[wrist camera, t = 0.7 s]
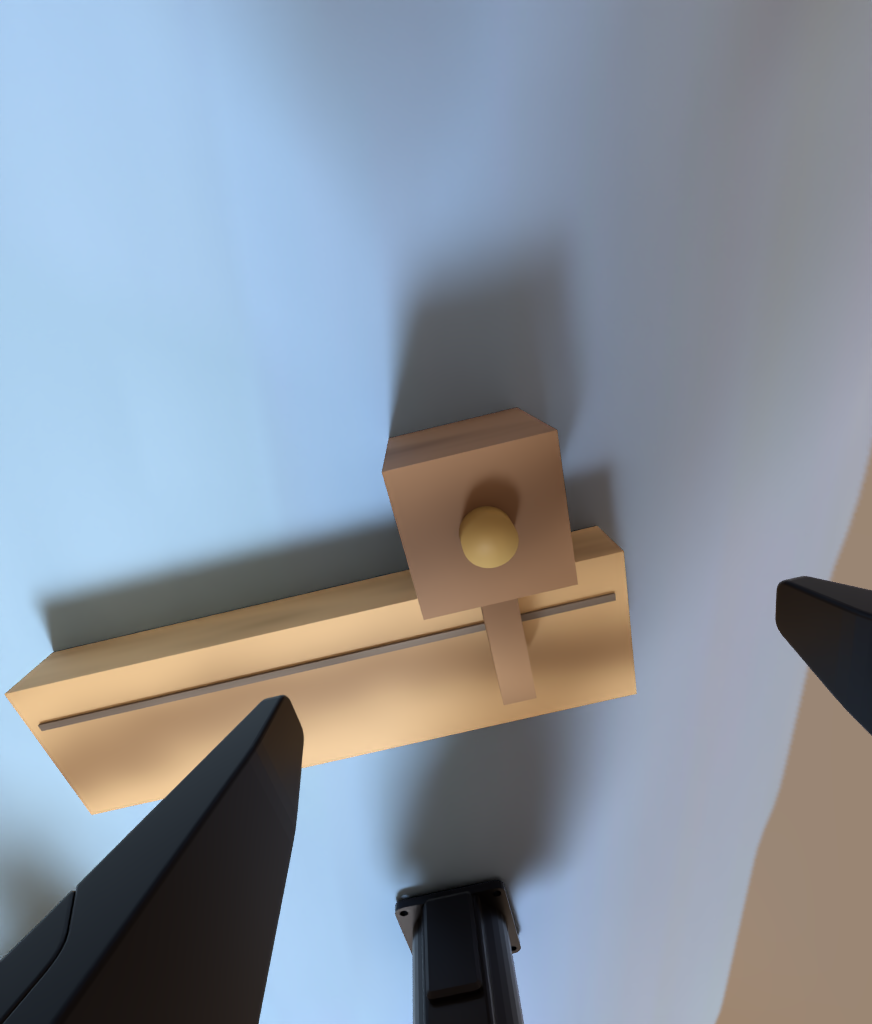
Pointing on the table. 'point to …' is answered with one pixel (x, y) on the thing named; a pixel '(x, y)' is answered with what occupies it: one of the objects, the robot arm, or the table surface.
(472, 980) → the robot arm
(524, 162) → the table surface
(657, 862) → the table surface
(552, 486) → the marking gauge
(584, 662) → the board
